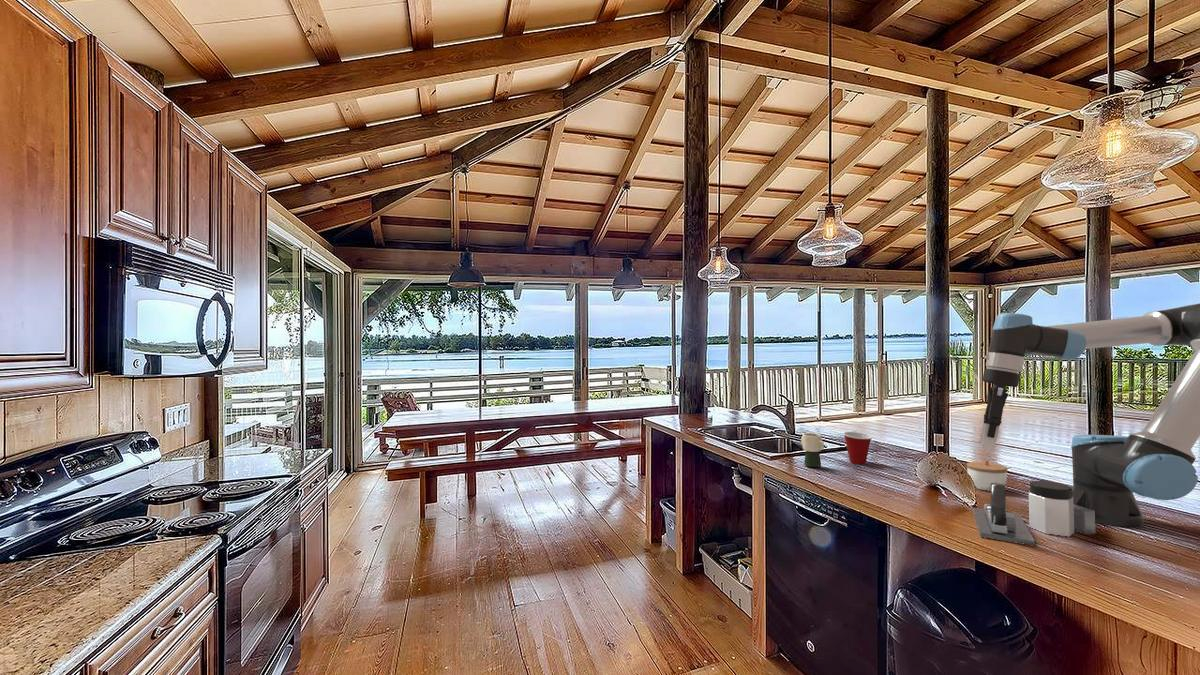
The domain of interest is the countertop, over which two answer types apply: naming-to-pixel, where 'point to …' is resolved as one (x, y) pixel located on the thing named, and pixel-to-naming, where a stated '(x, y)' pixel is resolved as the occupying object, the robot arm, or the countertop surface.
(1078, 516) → the backstop
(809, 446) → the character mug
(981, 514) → the press base
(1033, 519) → the jar
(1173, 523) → the countertop surface
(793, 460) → the countertop surface
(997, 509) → the lever
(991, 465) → the lidded jar
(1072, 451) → the robot arm
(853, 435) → the plastic cup
